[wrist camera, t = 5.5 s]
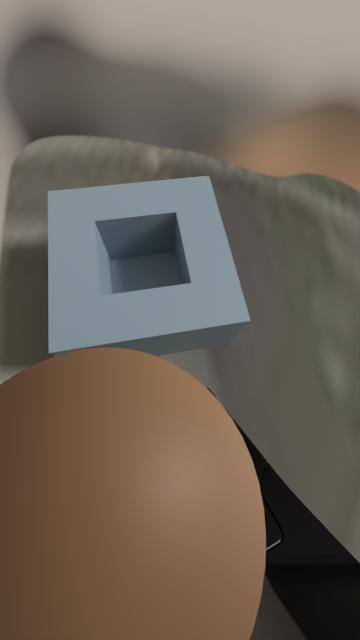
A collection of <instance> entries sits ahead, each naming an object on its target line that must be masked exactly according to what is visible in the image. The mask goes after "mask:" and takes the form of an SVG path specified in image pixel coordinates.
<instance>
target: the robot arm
mask: <svg viewBox="0 0 360 640" xmlns="http://www.w3.org/2000/svg"><path fill="white" fill-rule="evenodd" d="M207 389H208V390H209V391H210V392H211V393H212V391H211V390H210V389H209V388H207ZM212 394H213V393H212ZM213 395H214V394H213ZM214 396H215V395H214ZM215 397H216V396H215ZM216 399H217V398H216ZM217 400H218V399H217ZM218 401H219V400H218ZM219 402H220V401H219ZM221 405H222V404H221ZM222 406H223V405H222ZM223 407H224V406H223ZM224 409H225V408H224ZM225 410H226V409H225ZM226 411H227V410H226ZM227 413H228V411H227ZM228 414H229V413H228ZM229 415H230V414H229ZM230 417H231V418H232V416H231V415H230ZM232 420H233V421H234V423H235V425H236V427H237V428H238V430H239V432H240V434H241V435H242V437H243V439H244V442H245V444H246V446H247V449H248V451H249V453H250V456H251V458H252V461H253V464H254V468H255V471H256V474H257V478H258V481H259V485H260V490H261V496H262V501H263V506H264V516H265V528H266V561H265V572H264V580H263V588H262V595H261V600H260V604H259V608H258V612H257V616H256V621H255V625H254V628H253V631H252V634H251V637H250V639H249V640H360V563H359V562H358V561H357V560H356V559H355V558H354V557H353V556H352V555H351V554H350V553H349V552H348V551H347V550H346V548H345V547H344V546H343V545H342V544H341V543H340V542H339V541H338V540H337V539H336V538H335V537H334V536H333V535H332V534H331V533H330V532H329V531H328V529H327V528H326V527H325V526H324V525H323V524H322V523H321V522H320V521H319V520H318V519H317V518H316V517H315V516H314V515H313V514H312V513H311V512H310V510H309V509H308V508H307V507H306V506H305V505H304V504H303V503H302V502H301V501H300V500H299V499H298V497H297V496H296V495H295V494H294V493H293V492H292V491H291V490H290V489H289V487H288V486H287V485H286V484H285V483H284V481H283V480H282V479H281V478H280V477H279V475H278V474H277V473H276V472H275V470H274V469H273V468H272V467H271V465H270V464H269V463H267V461H266V459H265V458H264V457H263V455H262V454H261V453H260V452H259V450H258V449H257V448H256V447H255V445H254V444H253V443H252V442H251V440H250V439H249V438H248V437H247V435H246V434H245V433H244V432H243V430H242V429H241V428H240V427H239V425H238V424H237V423H236V422H235V420H234V419H233V418H232Z"/></svg>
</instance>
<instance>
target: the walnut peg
mask: <svg viewBox="0 0 360 640" xmlns="http://www.w3.org/2000/svg"><path fill="white" fill-rule="evenodd" d="M265 561H266V528H265V516H264V506H263V501H262V496H261V490H260V485H259V481H258V478H257V474H256V471H255V468H254V464H253V461H252V458H251V456H250V453H249V451H248V449H247V446H246V444H245V442H244V439H243V437H242V435H241V434H240V432H239V430H238V428H237V427H236V425H235V423H234V421H233V420H232V418H231V417H230V415H229V414H228V413H227V411H226V410H225V409H224V407H223V406H222V405H221V403H220V402H219V401H218V400H217V399H216V397H215V396H214V395H213V394H212V393H211V392H210V391H209V390H208V389H207V388H206V387H205V386H204V385H203V384H201V383H200V382H199V381H198V380H196V379H195V378H194V377H193V376H192V375H190V374H189V373H187V372H186V371H184V370H182V369H181V368H179V367H178V366H176V365H174V364H173V363H170V362H168V361H166V360H164V359H161V358H159V357H157V356H154V355H151V354H147V353H144V352H141V351H136V350H130V349H124V348H106V347H100V348H89V349H81V350H76V351H72V352H67V353H63V354H60V355H57V356H54V357H51V358H48V359H46V360H43V361H41V362H39V363H37V364H35V365H33V366H30V367H28V368H26V369H24V370H23V371H21V372H19V373H18V374H16V375H15V376H13V377H11V378H10V379H8V380H7V381H5V382H4V383H2V384H1V385H0V640H249V639H250V637H251V634H252V631H253V628H254V625H255V621H256V616H257V612H258V608H259V604H260V600H261V595H262V588H263V580H264V572H265Z"/></svg>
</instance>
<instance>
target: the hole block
mask: <svg viewBox="0 0 360 640" xmlns="http://www.w3.org/2000/svg"><path fill="white" fill-rule="evenodd" d="M249 322H250V317H249V314H248V310H247V307H246V303H245V300H244V296H243V293H242V289H241V286H240V282H239V279H238V275H237V272H236V268H235V265H234V261H233V258H232V254H231V251H230V247H229V244H228V241H227V237H226V234H225V230H224V227H223V223H222V220H221V216H220V213H219V209H218V206H217V202H216V199H215V195H214V192H213V188H212V185H211V181H210V178H209V176H201V177H191V178H180V179H170V180H160V181H150V182H139V183H129V184H119V185H109V186H98V187H88V188H78V189H68V190H57V191H48V342H49V354H52V355H54V356H57V355H60V354H63V353H67V352H72V351H76V350H81V349H89V348H100V347H106V348H124V349H130V350H136V351H141V352H144V353H147V354H151V355H154V356H157V355H163V354H169V353H175V352H181V351H187V350H193V349H199V348H204V347H210V346H216V345H222V344H228V343H229V342H230V341H231V340H232V339H233V338H234V337H235V336H236V335H237V334H238V333H239V332H240V331H241V330H242V329H243V328H244V327H245V326H246V325H247V324H248V323H249Z"/></svg>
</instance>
